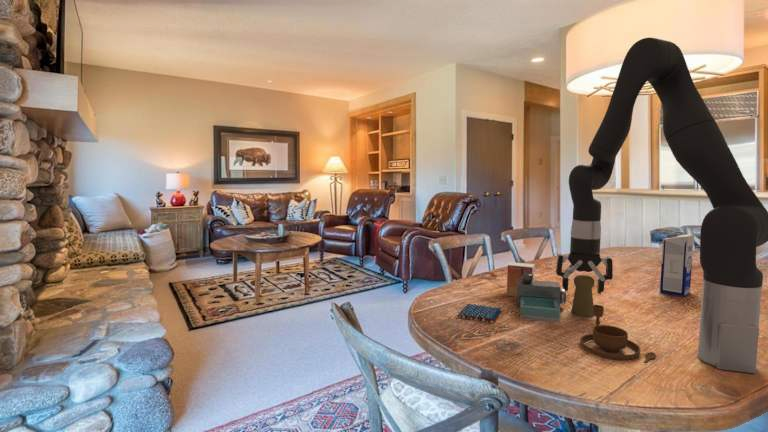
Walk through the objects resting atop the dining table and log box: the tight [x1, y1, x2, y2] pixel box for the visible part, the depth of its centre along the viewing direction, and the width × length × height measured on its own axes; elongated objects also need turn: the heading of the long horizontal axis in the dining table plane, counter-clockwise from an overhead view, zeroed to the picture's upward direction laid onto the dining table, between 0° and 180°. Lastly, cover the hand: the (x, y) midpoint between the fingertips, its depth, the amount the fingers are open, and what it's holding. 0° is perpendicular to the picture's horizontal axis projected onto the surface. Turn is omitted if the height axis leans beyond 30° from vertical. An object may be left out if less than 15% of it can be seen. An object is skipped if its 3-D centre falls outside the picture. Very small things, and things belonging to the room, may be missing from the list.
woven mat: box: [457, 303, 503, 324], centre depth 114 cm, size 10×11×2 cm
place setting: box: [577, 304, 657, 364], centre depth 93 cm, size 18×20×6 cm
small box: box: [506, 261, 536, 298], centre depth 131 cm, size 8×6×10 cm
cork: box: [570, 274, 595, 318], centre depth 114 cm, size 6×6×11 cm
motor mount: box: [516, 273, 567, 324], centre depth 116 cm, size 16×14×10 cm
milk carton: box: [659, 232, 695, 297], centre depth 132 cm, size 7×7×20 cm
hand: (582, 291), depth 114 cm, fingers open, 8 cm apart
